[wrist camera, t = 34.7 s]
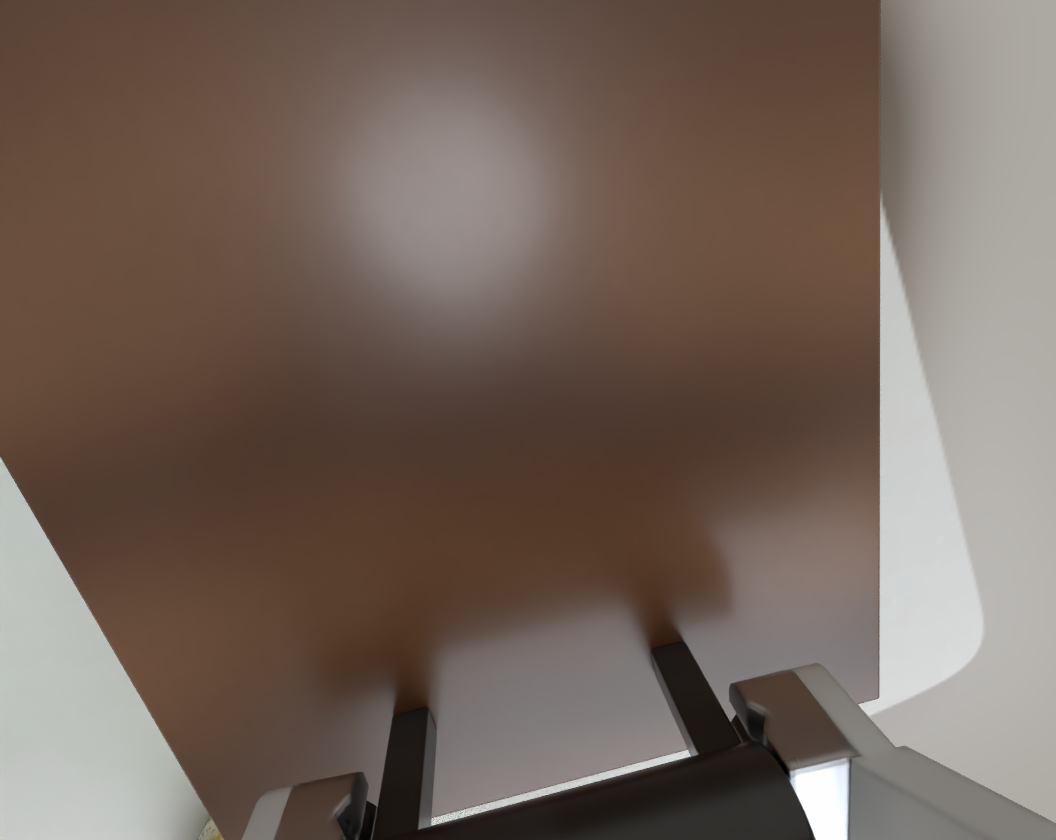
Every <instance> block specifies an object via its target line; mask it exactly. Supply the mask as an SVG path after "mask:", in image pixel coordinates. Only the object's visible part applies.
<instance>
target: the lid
mask: <svg viewBox="0 0 1056 840" xmlns="http://www.w3.org/2000/svg"><path fill="white" fill-rule="evenodd" d="M880 3H881V2H880V0H0V457H1V459H2V460H3V462H4V464H5V466H6V467H7V469H8V471H9V472H10V474H11V476H12V478H13V479H14V481H15V483H16V484H17V486H18V488H19V490H20V491H21V493H22V495H23V496H24V498H25V500H26V502H27V503H28V505H29V507H30V508H31V510H32V512H33V514H34V515H35V517H36V519H37V520H38V522H39V524H40V526H41V527H42V529H43V531H44V532H45V534H46V536H47V538H48V539H49V541H50V543H51V544H52V546H53V548H54V550H55V551H56V553H57V555H58V556H59V558H60V560H61V562H62V563H63V565H64V567H65V568H66V570H67V572H68V574H69V575H70V577H71V579H72V580H73V582H74V584H75V586H76V587H77V589H78V591H79V592H80V594H81V596H82V598H83V599H84V601H85V603H86V604H87V606H88V608H89V610H90V611H91V613H92V615H93V616H94V618H95V620H96V622H97V623H98V625H99V627H100V628H101V630H102V632H103V634H104V635H105V637H106V639H107V640H108V642H109V644H110V646H111V647H112V649H113V651H114V652H115V654H116V656H117V658H118V659H119V661H120V663H121V664H122V666H123V668H124V670H125V671H126V673H127V675H128V676H129V678H130V680H131V682H132V683H133V685H134V687H135V688H136V690H137V692H138V694H139V695H140V697H141V699H142V700H143V702H144V704H145V706H146V707H147V709H148V711H149V712H150V714H151V716H152V718H153V719H154V721H155V723H156V724H157V726H158V728H159V730H160V731H161V733H162V735H163V736H164V738H165V740H166V742H167V743H168V745H169V747H170V748H171V750H172V752H173V754H174V755H175V757H176V759H177V760H178V762H179V764H180V766H181V767H182V769H183V771H184V772H185V774H186V776H187V778H188V779H189V781H190V783H191V784H192V786H193V788H194V790H195V791H196V793H197V795H198V796H199V798H200V800H201V802H202V803H203V805H204V807H205V808H206V810H207V812H208V814H209V815H210V817H211V819H212V820H213V822H214V824H215V826H216V827H217V829H218V831H219V832H220V834H221V836H222V838H223V839H224V840H242V838H243V836H244V833H245V831H246V828H247V825H248V823H249V820H250V818H251V815H252V813H253V810H254V808H255V805H256V803H257V801H258V800H259V799H260V797H261V796H262V795H263V794H264V792H265V791H269V790H274V789H278V788H283V787H288V786H292V785H297V784H300V783H305V782H310V781H315V780H320V779H325V778H330V777H335V776H340V775H344V774H349V773H354V772H363V773H364V776H365V778H366V780H367V783H368V785H369V789H368V795H367V801H369V802H371V803H372V804H374V805H376V806H377V813H376V819H375V825H374V831H373V837H372V840H816V838H815V836H814V833H813V830H812V828H811V825H810V823H809V820H808V818H807V815H806V813H805V811H804V809H803V806H802V804H801V802H800V800H799V798H798V796H797V794H796V792H795V790H794V788H793V786H792V784H791V782H790V781H789V779H788V777H787V775H786V774H785V772H784V771H783V769H782V767H781V766H780V764H779V763H778V762H777V760H776V759H775V757H774V756H773V755H772V753H771V752H770V751H769V750H768V749H767V748H766V747H765V746H764V745H763V744H762V743H760V742H758V741H752V740H751V741H747V742H743V743H742V742H741V740H740V738H739V736H738V734H737V733H736V731H735V729H734V727H733V726H732V724H731V721H732V719H733V718H734V716H735V715H736V712H735V710H734V708H733V707H732V705H731V703H730V701H729V687H730V684H731V683H734V682H738V681H742V680H746V679H750V678H754V677H758V676H762V675H766V674H770V673H774V672H778V671H782V670H789V669H793V668H797V667H801V666H805V665H810V664H814V663H819V664H821V665H822V666H824V667H825V668H826V669H827V670H828V671H829V672H830V674H831V675H832V676H833V677H834V678H835V679H836V680H837V681H838V683H839V684H840V685H841V686H842V687H843V688H844V689H845V691H846V692H847V693H848V694H849V695H850V696H851V697H852V698H853V700H854V701H855V702H856V703H857V704H860V703H864V702H868V701H871V700H875V699H878V698H879V568H880ZM684 750H688V751H689V753H690V755H691V757H687V758H684V759H680V760H676V761H672V762H669V763H665V764H661V765H658V766H654V767H650V768H646V769H643V770H639V771H635V772H631V773H628V774H624V775H620V776H616V777H613V778H609V779H605V780H601V781H598V782H594V783H590V784H587V785H583V786H579V787H575V788H572V789H568V790H564V791H560V792H557V793H553V794H549V795H545V796H542V797H538V798H534V799H531V800H527V801H523V802H519V803H516V804H512V805H508V806H504V807H501V808H497V809H493V810H489V811H486V812H482V813H478V814H475V815H471V816H467V817H463V818H460V819H456V820H452V821H448V822H445V823H441V824H437V825H433V826H431V818H434V817H437V816H441V815H445V814H449V813H452V812H456V811H460V810H464V809H467V808H471V807H475V806H478V805H482V804H486V803H490V802H493V801H497V800H501V799H505V798H508V797H512V796H516V795H520V794H523V793H527V792H531V791H535V790H538V789H542V788H546V787H550V786H553V785H557V784H561V783H565V782H568V781H572V780H576V779H580V778H583V777H587V776H591V775H594V774H598V773H602V772H606V771H609V770H613V769H617V768H621V767H624V766H628V765H632V764H636V763H639V762H643V761H647V760H651V759H654V758H658V757H662V756H666V755H669V754H673V753H677V752H681V751H684Z"/></svg>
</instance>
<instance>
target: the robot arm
mask: <svg viewBox="0 0 1056 840" xmlns="http://www.w3.org/2000/svg"><path fill="white" fill-rule="evenodd" d="M729 701H730V703H731V705H732V707H733V708H734V710H735V712H736V715H735V716H734V718H733V719H732V721H731V724H732V726H733V727H734V729H735V731H736V733H737V734H738V736H739V738H740V740H741V742H742V743H743V742H747V741H751V740H752V741H758V742H760V743H762V744H763V745H764V746H765V747H766V748H767V749H768V750H769V751H770V752H771V753H772V755H773V756H774V757H775V759H776V760H777V762H778V763H779V764H780V766H781V767H782V769H783V771H784V772H785V774H786V775H787V777H788V779H789V781H790V782H791V784H792V786H793V788H794V790H795V792H796V794H797V796H798V798H799V800H800V802H801V804H802V806H803V809H804V811H805V813H806V815H807V818H808V820H809V823H810V825H811V828H812V830H813V833H814V836H815V838H816V840H1056V823H1054V822H1052V821H1050V820H1048V819H1047V818H1045V817H1043V816H1041V815H1039V814H1037V813H1035V812H1033V811H1031V810H1029V809H1027V808H1025V807H1023V806H1021V805H1019V804H1017V803H1015V802H1014V801H1012V800H1009V799H1008V798H1006V797H1004V796H1002V795H999V794H998V793H996V792H994V791H992V790H990V789H988V788H986V787H984V786H983V785H980V784H979V783H977V782H975V781H973V780H971V779H969V778H967V777H965V776H963V775H961V774H959V773H957V772H955V771H953V770H951V769H950V768H948V767H945V766H943V765H942V764H940V763H938V762H936V761H934V760H932V759H930V758H928V757H926V756H924V755H922V754H920V753H918V752H917V751H914V750H913V749H911V748H909V747H907V746H902V747H895V746H894V745H893V744H892V743H891V742H890V741H889V739H888V738H887V737H886V736H885V735H884V734H883V733H882V732H881V730H880V729H879V728H878V727H877V726H876V725H875V724H874V722H873V721H872V720H871V719H870V718H869V717H868V716H867V714H866V713H865V712H864V711H863V710H862V709H861V708H860V706H859V705H858V704H857V703H856V702H855V701H854V700H853V698H852V697H851V696H850V695H849V694H848V693H847V692H846V691H845V689H844V688H843V687H842V686H841V685H840V684H839V683H838V681H837V680H836V679H835V678H834V677H833V676H832V675H831V674H830V672H829V671H828V670H827V669H826V668H825V667H824V666H822V665H821V664H819V663H814V664H810V665H805V666H801V667H797V668H793V669H789V670H782V671H778V672H774V673H770V674H766V675H762V676H758V677H754V678H750V679H746V680H742V681H738V682H734V683H731V684H730V687H729ZM368 789H369V785H368V783H367V780H366V778H365V776H364V773H363V772H354V773H349V774H344V775H340V776H335V777H330V778H325V779H320V780H315V781H310V782H305V783H300V784H297V785H292V786H288V787H283V788H278V789H274V790H269V791H265V792H264V794H263V795H262V796H261V797H260V799H259V800H258V801H257V803H256V805H255V808H254V810H253V813H252V815H251V818H250V820H249V823H248V825H247V828H246V831H245V833H244V836H243V838H242V840H372V837H373V831H374V825H375V819H376V813H377V806H376V805H374V804H372V803H371V802H369V801H367V795H368Z"/></svg>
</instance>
